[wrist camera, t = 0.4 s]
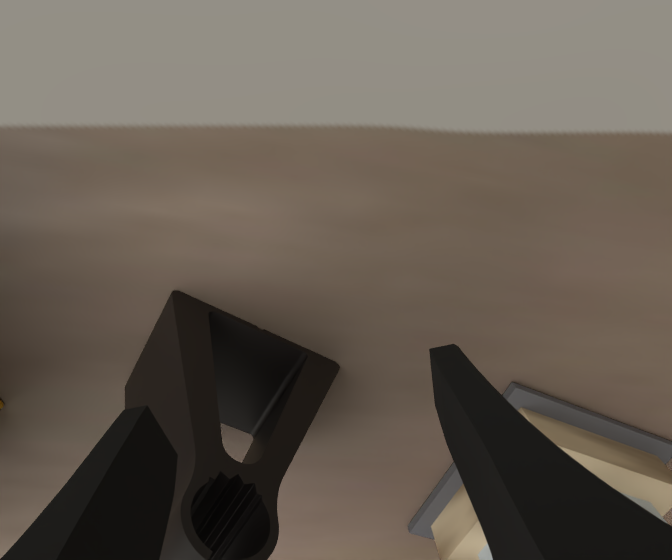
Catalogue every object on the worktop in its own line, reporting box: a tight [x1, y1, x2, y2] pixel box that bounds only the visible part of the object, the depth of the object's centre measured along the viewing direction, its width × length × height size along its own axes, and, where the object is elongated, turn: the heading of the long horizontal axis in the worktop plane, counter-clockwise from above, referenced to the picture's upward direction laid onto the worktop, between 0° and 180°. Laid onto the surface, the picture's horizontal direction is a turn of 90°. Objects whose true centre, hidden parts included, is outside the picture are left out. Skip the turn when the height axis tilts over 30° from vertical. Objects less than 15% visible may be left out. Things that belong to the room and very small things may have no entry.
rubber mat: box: [408, 382, 672, 540], centre depth 28 cm, size 12×12×1 cm
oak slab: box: [431, 407, 672, 560], centre depth 27 cm, size 10×10×2 cm
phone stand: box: [125, 291, 339, 560], centre depth 18 cm, size 9×6×12 cm, turn 59°
